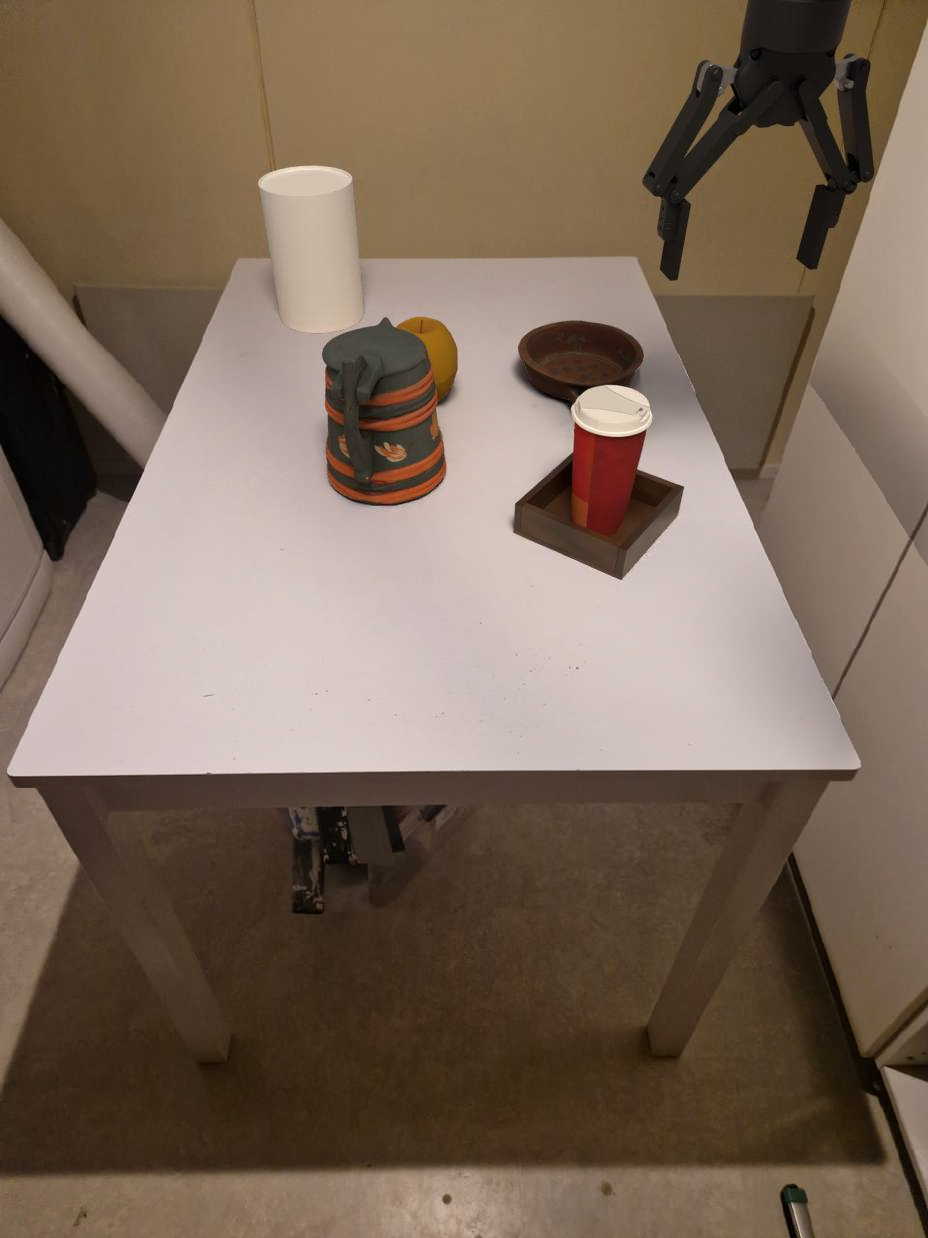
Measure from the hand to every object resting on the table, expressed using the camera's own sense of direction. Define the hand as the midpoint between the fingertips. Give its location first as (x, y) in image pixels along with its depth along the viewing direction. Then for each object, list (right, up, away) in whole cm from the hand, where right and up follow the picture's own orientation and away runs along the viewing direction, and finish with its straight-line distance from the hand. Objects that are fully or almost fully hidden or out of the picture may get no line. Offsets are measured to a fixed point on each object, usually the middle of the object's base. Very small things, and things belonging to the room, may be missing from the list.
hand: (738, 269), depth 77 cm
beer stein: (-35, -16, +24) cm, 46 cm away
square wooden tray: (-10, -22, +18) cm, 30 cm away
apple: (-31, -2, +37) cm, 49 cm away
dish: (-9, +1, +41) cm, 43 cm away
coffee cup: (-10, -21, +18) cm, 30 cm away
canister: (-48, +17, +57) cm, 77 cm away
